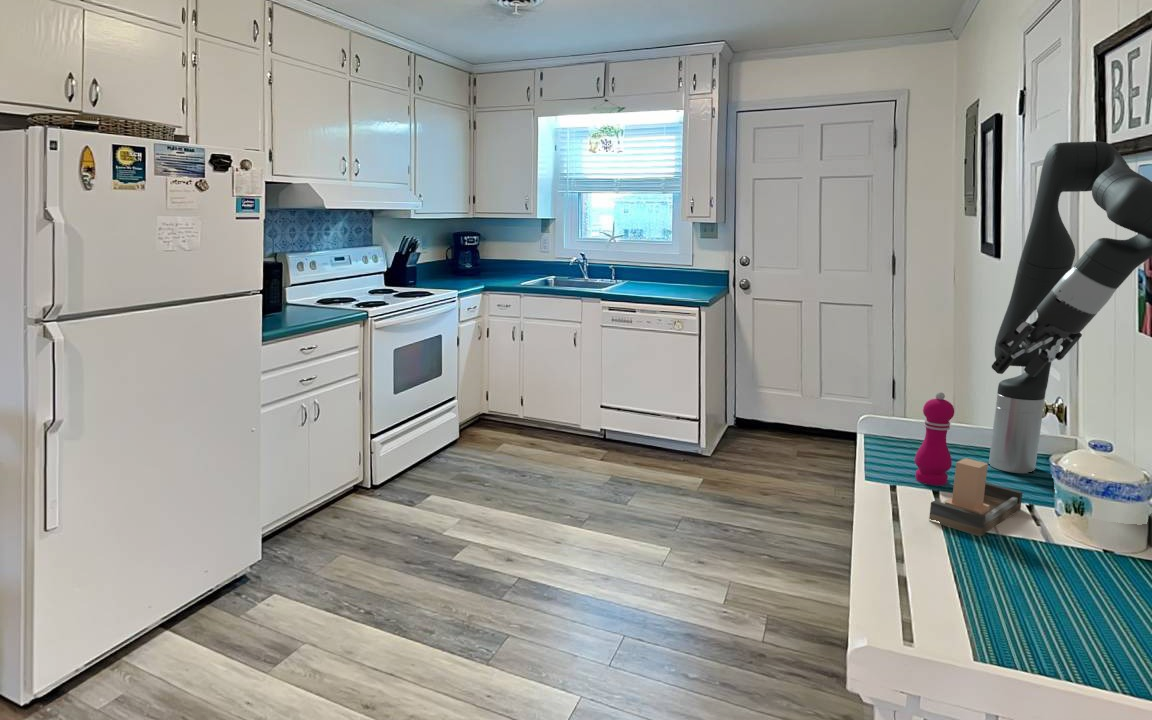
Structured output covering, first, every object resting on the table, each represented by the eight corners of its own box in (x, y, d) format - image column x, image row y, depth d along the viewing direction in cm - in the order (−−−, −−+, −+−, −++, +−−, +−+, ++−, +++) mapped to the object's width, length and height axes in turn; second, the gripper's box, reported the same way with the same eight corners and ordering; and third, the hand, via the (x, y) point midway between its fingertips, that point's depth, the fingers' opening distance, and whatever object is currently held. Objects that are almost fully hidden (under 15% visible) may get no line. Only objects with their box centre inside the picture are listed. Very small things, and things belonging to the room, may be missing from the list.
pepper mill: (954, 487, 149) (964, 396, 146) (917, 484, 151) (927, 394, 147) (943, 476, 156) (953, 389, 153) (909, 473, 158) (917, 387, 154)
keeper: (954, 505, 135) (960, 456, 133) (988, 515, 131) (994, 464, 129) (943, 512, 132) (949, 461, 130) (977, 522, 127) (984, 469, 126)
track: (971, 496, 145) (973, 479, 144) (1020, 509, 138) (1022, 491, 137) (929, 520, 132) (931, 502, 131) (980, 536, 125) (982, 517, 124)
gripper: (1086, 290, 121) (1024, 361, 131) (1030, 281, 116) (970, 356, 125) (1121, 316, 116) (1054, 388, 125) (1065, 308, 111) (999, 384, 120)
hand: (1012, 372), depth 125 cm, fingers open, 8 cm apart
